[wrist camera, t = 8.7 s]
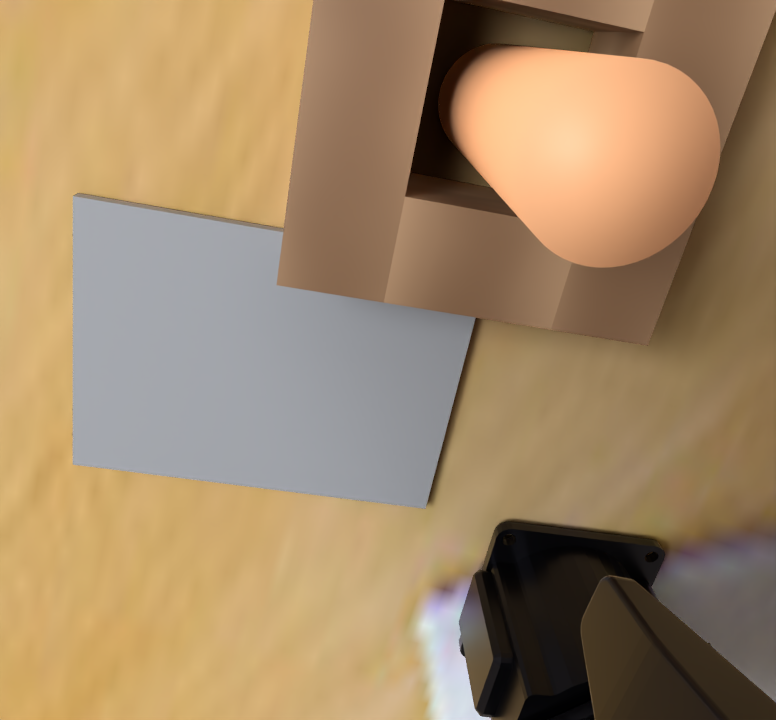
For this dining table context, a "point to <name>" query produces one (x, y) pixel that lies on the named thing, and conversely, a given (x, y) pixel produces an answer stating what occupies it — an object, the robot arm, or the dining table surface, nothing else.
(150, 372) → the mat
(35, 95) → the dining table surface
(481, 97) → the peg
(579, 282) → the hole block
